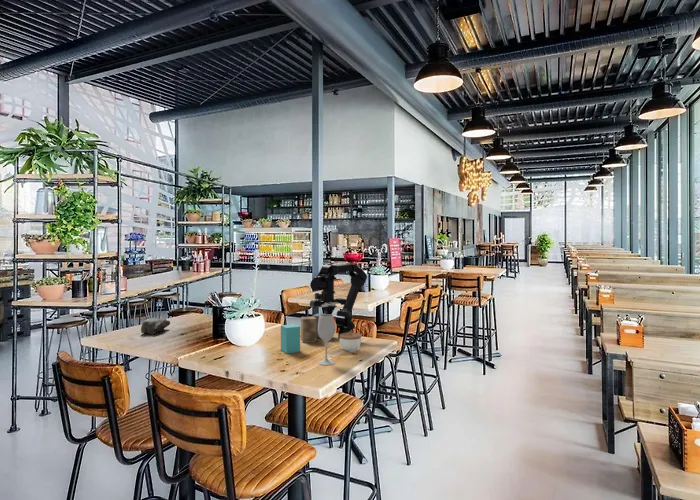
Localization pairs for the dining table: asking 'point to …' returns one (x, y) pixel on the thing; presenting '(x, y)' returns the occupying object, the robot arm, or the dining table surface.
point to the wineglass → (326, 333)
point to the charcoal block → (317, 324)
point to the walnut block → (308, 329)
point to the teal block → (290, 338)
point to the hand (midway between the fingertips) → (328, 319)
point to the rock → (154, 325)
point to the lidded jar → (350, 341)
